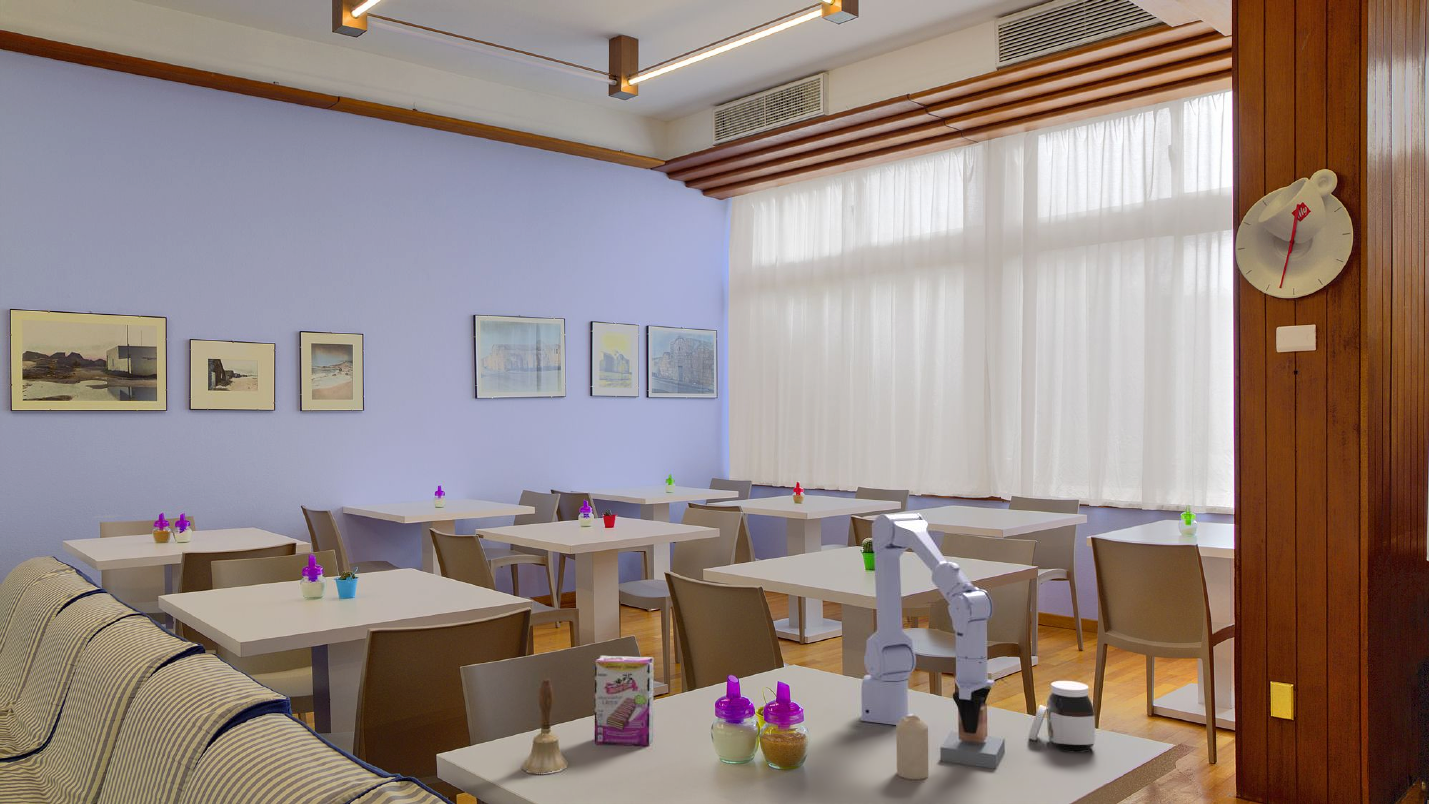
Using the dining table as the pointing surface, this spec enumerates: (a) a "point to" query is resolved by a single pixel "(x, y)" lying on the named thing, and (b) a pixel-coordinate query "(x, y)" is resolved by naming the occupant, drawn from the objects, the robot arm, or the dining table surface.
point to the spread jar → (1067, 717)
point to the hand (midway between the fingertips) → (972, 728)
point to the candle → (912, 748)
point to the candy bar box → (624, 700)
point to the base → (973, 751)
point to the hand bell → (545, 739)
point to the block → (981, 727)
